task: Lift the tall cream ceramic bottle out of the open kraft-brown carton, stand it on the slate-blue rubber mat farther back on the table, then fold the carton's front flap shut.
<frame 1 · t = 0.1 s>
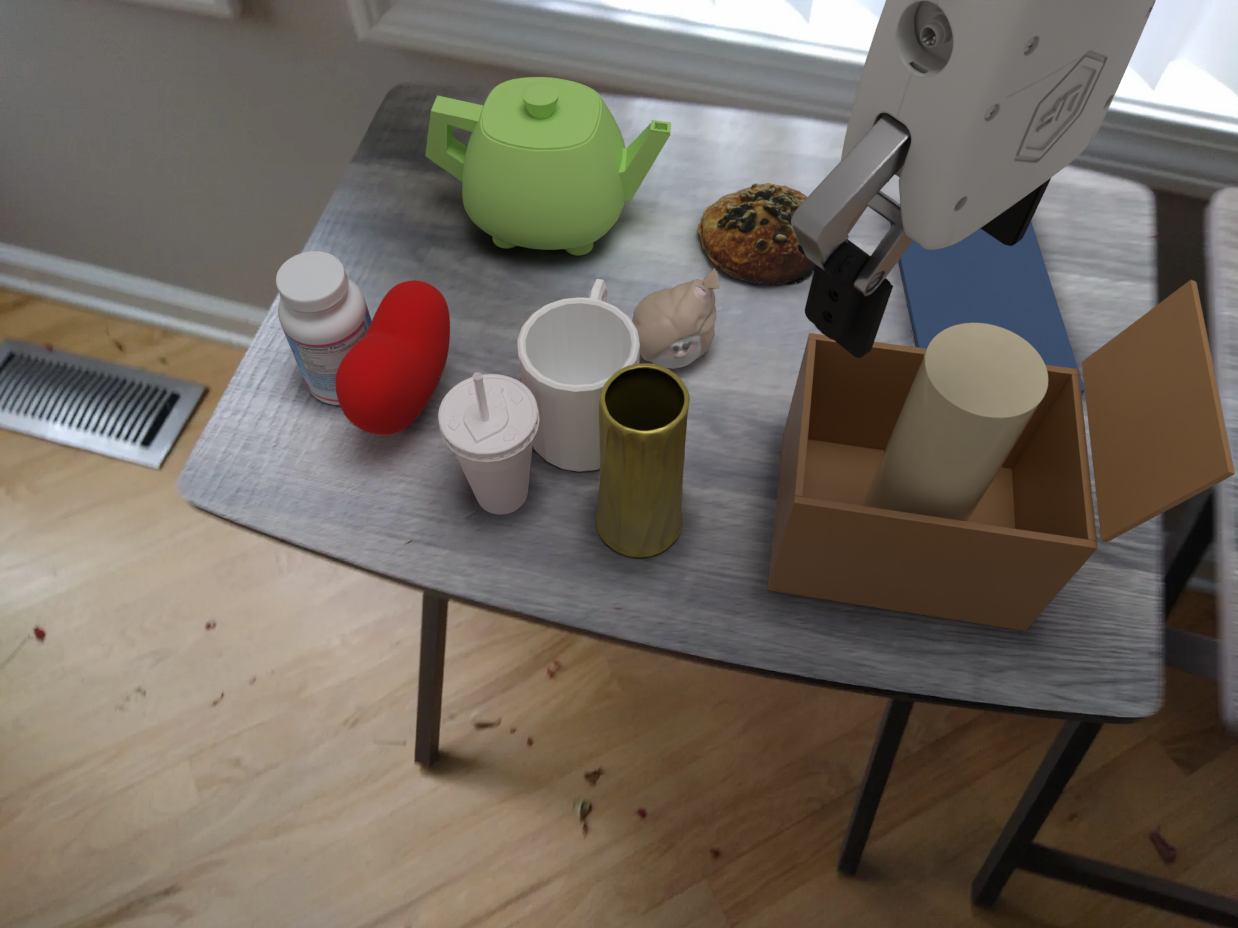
hand: (914, 278, 42), 29 cm above the table, tool pointing down, fingers open, 9 cm apart
bread roll: (761, 243, 84), on the table
vase: (638, 521, 69), on the table
cream bottle: (898, 541, 68), resting on carton
mug: (587, 407, 75), on the table
garlic bulb: (671, 352, 78), on the table
mat: (978, 297, 81), on the table
flap: (1148, 411, 54), point 16 cm above the table, hinge at 110.0°
pill bottle: (347, 379, 76), on the table
carton: (896, 526, 69), on the table
smoothie: (502, 493, 70), on the table
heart: (412, 414, 74), on the table
teapot: (550, 218, 86), on the table
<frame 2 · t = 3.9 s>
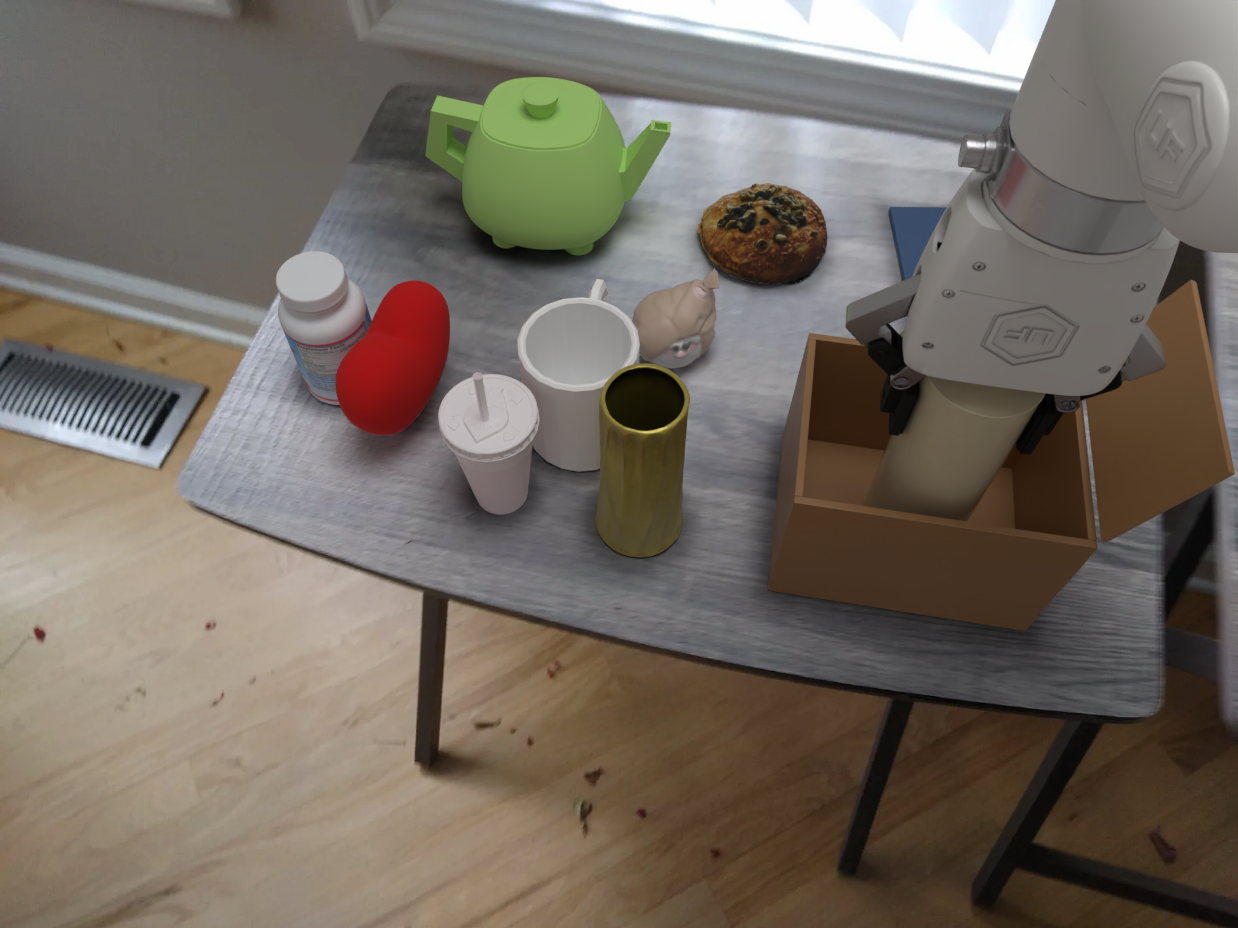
hand: (958, 422, 56), 15 cm above the table, tool pointing down, fingers closed on cream bottle, 6 cm apart
cream bottle: (898, 541, 68), point 1 cm above the table, touching carton, gripper
everything else where it was.
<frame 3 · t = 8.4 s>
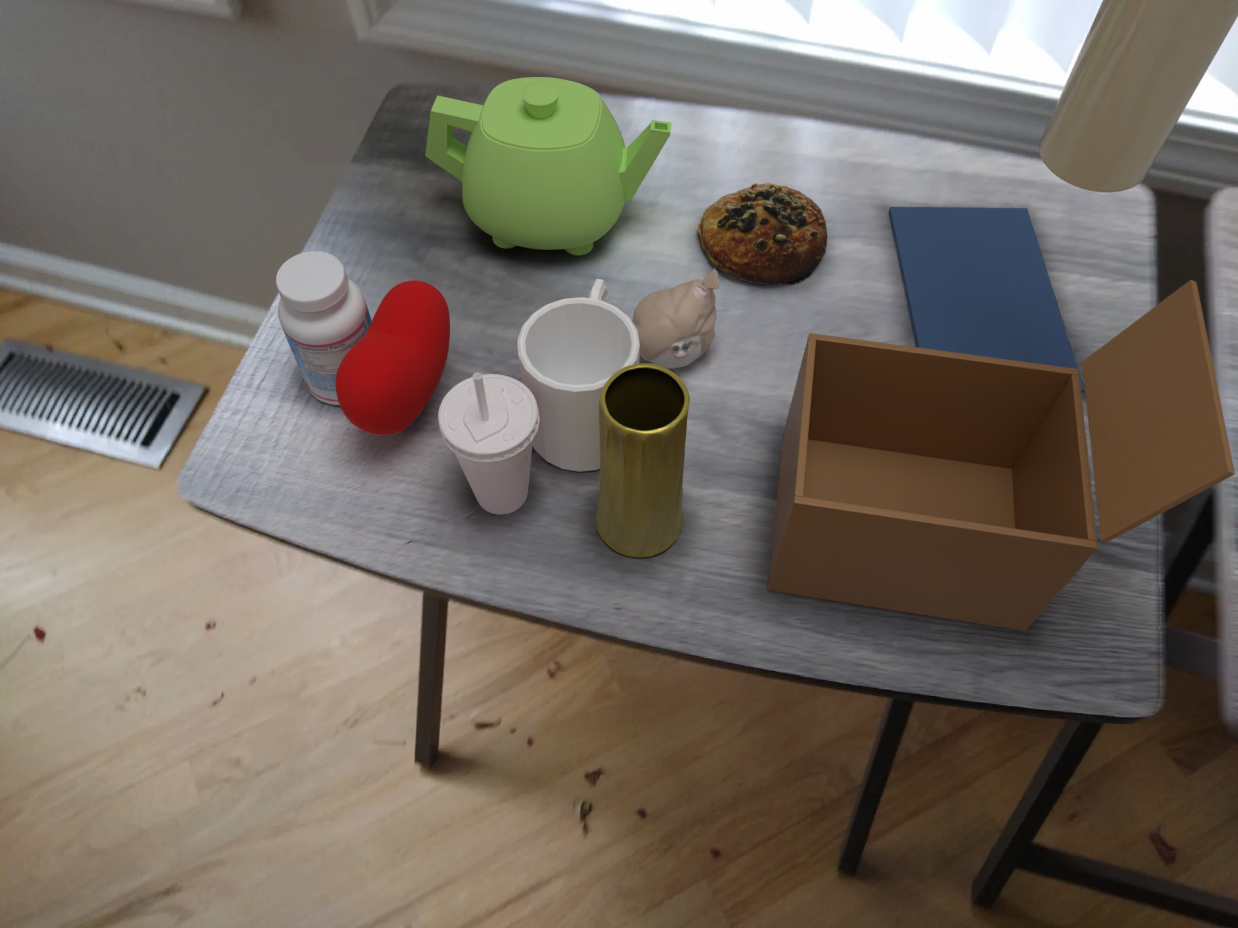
cream bottle: (1093, 156, 59), point 20 cm above the table, touching gripper
everything else where it was.
when the fingers open (15 cm above the table, at t = 13.2 s): cream bottle stays where it is, resting on mat.
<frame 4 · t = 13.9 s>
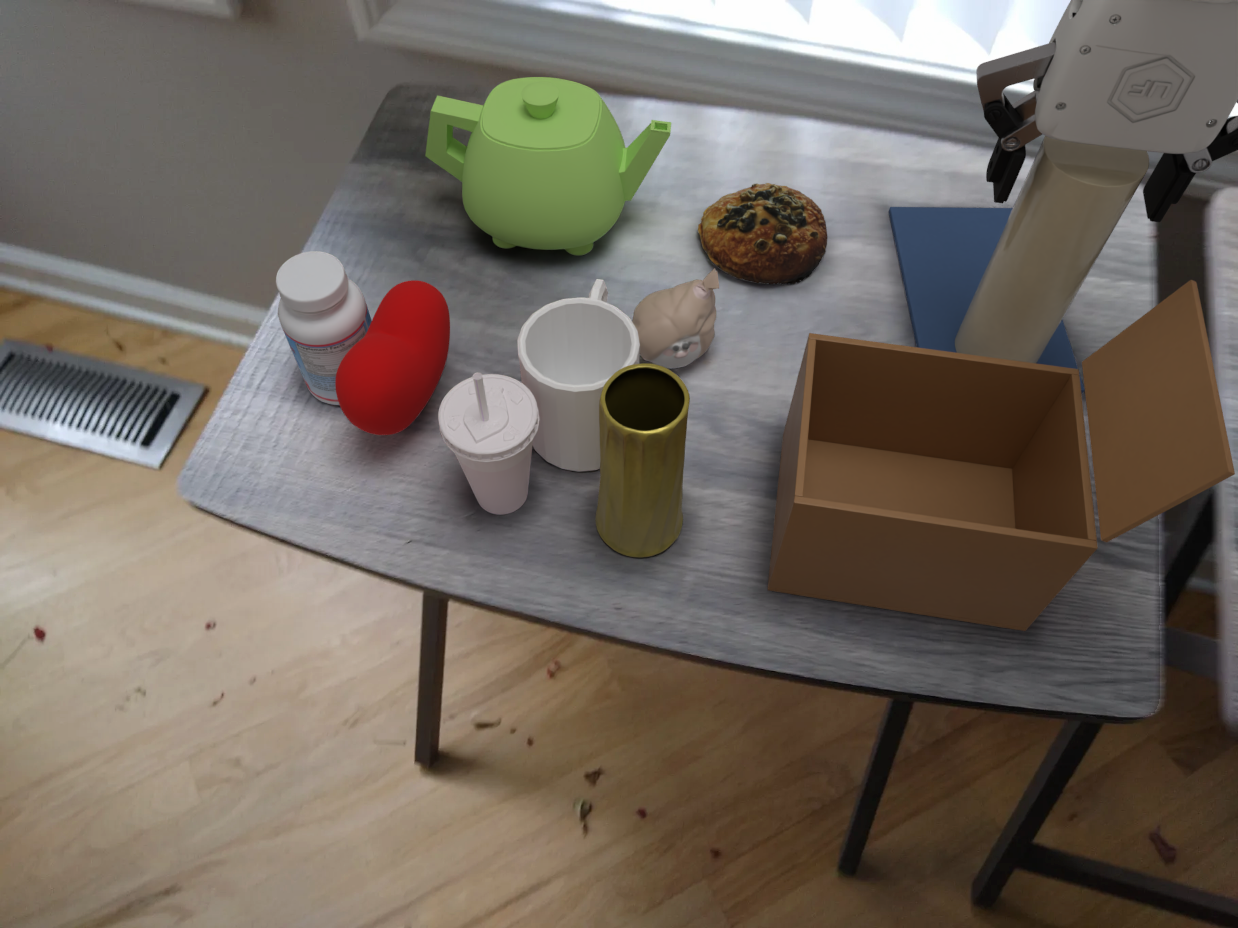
hand: (1073, 198, 64), 16 cm above the table, tool pointing down, fingers open, 9 cm apart
cream bottle: (995, 348, 77), point 1 cm above the table, touching mat
everything else where it was.
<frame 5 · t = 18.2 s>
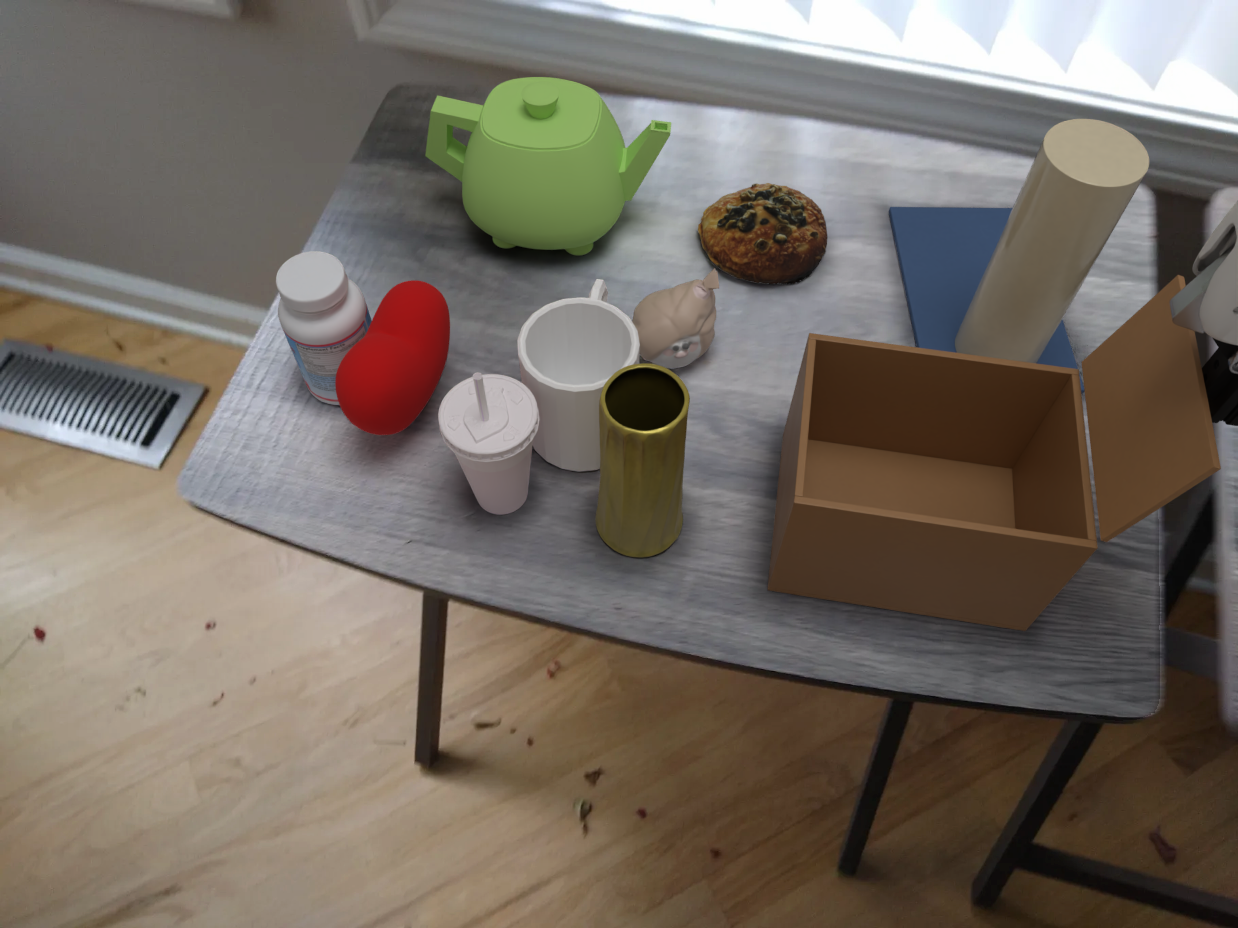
hand: (1216, 402, 53), 17 cm above the table, tool pointing down, fingers closed
flap: (1142, 408, 54), point 16 cm above the table, hinge at 104.3°, touching gripper
everything else where it was.
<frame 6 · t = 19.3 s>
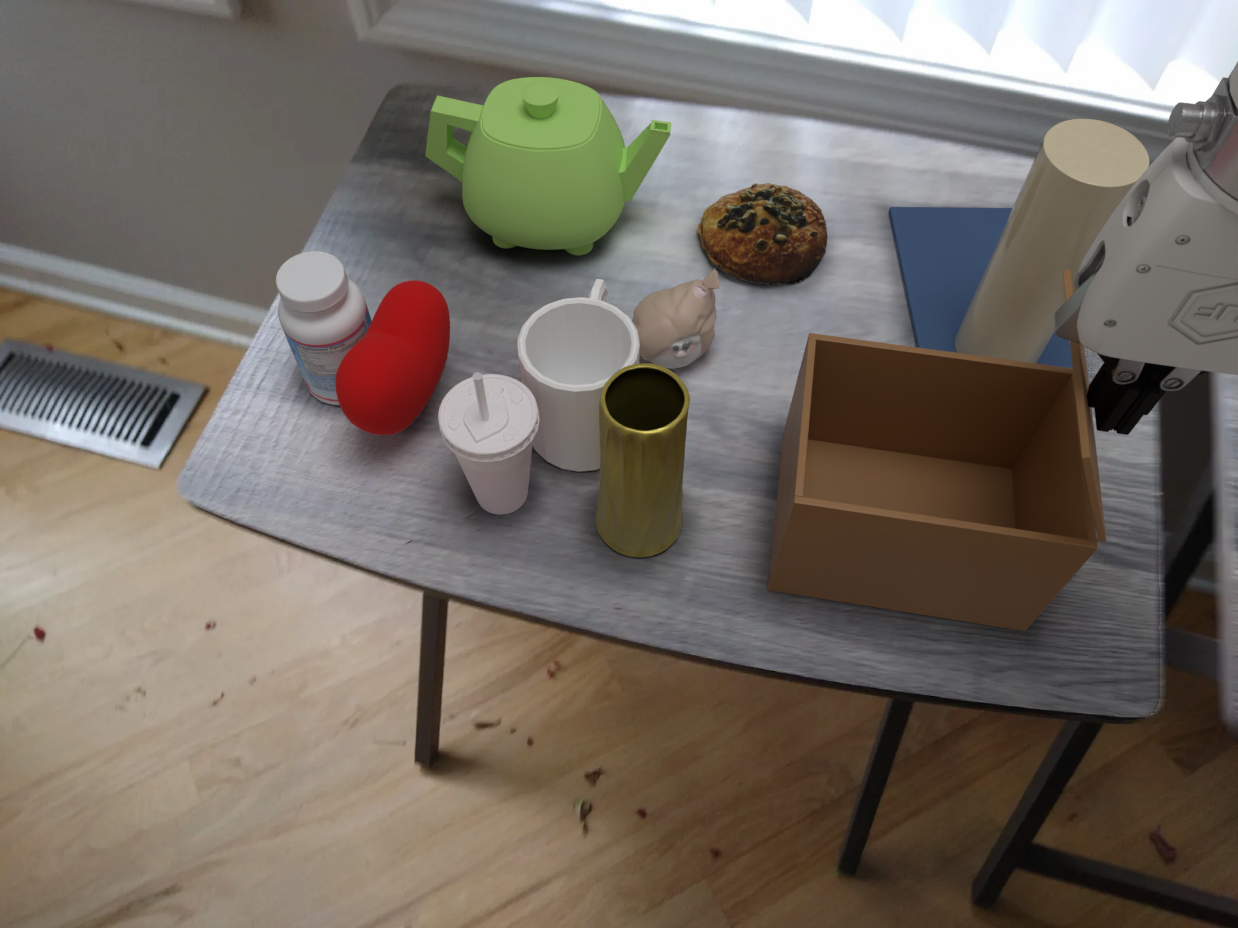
hand: (1109, 412, 55), 16 cm above the table, tool pointing down, fingers closed
flap: (1084, 404, 55), point 16 cm above the table, hinge at 62.7°
everything else where it was.
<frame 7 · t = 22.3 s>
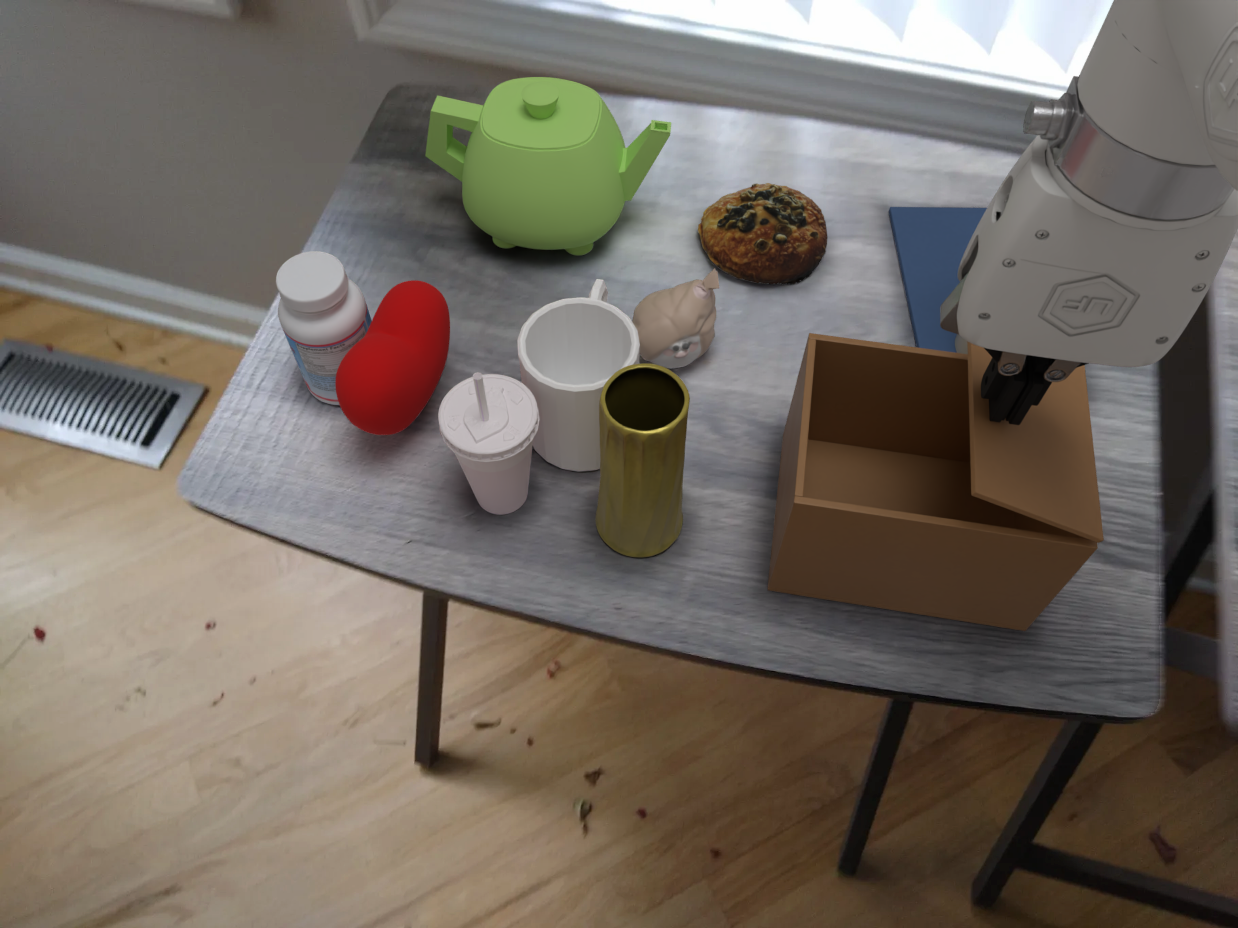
hand: (1002, 403, 56), 15 cm above the table, tool pointing down, fingers closed
flap: (1031, 423, 57), point 14 cm above the table, hinge at 19.9°, touching gripper
everything else where it was.
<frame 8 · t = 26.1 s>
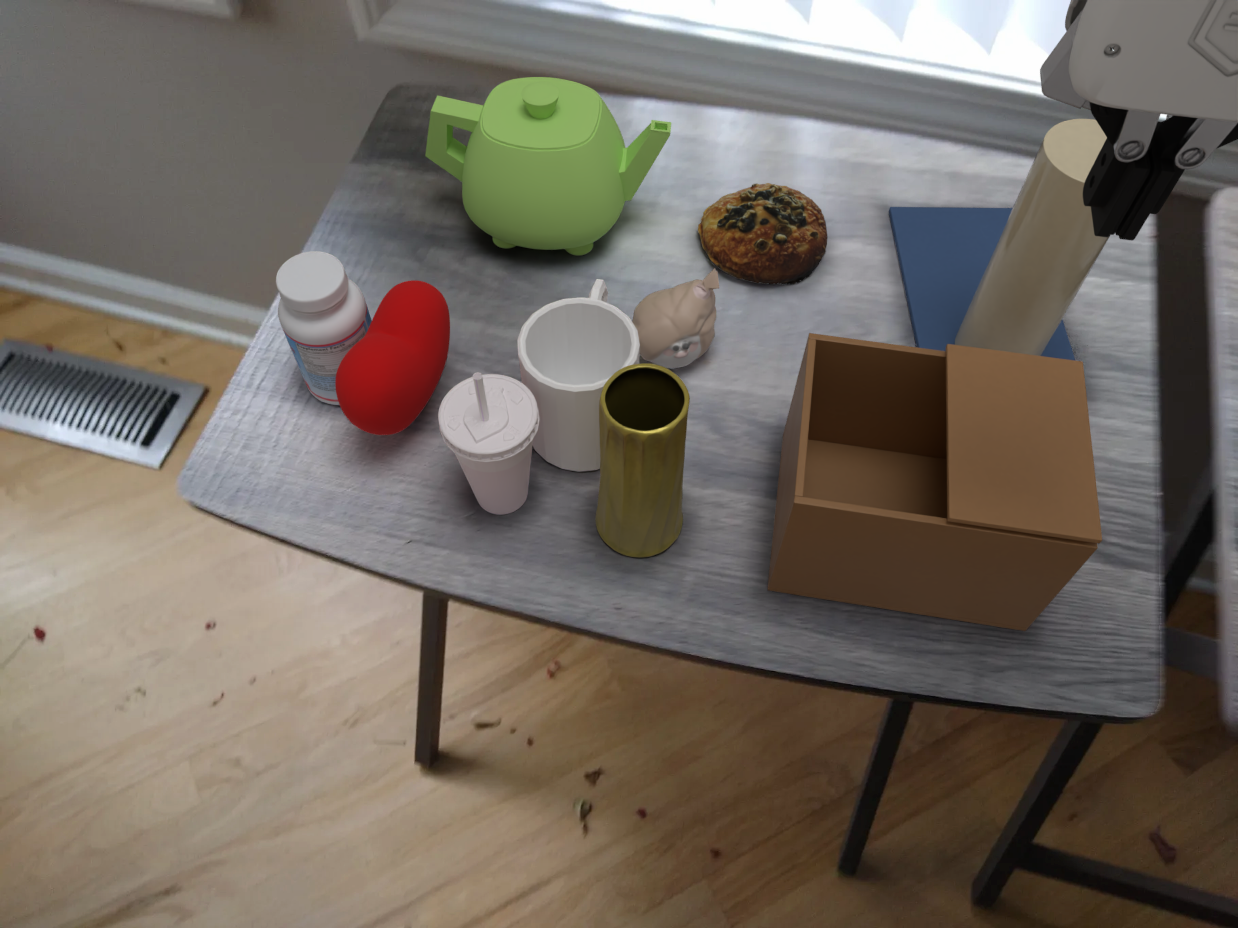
hand: (1110, 216, 44), 29 cm above the table, tool pointing down, fingers closed
flap: (1018, 437, 58), point 12 cm above the table, hinge at -0.3°
everything else where it was.
at the end: cream bottle inside the target area on the mat (0.4 cm from its centre), point 0.6 cm above the mat's base; cream bottle tilted 0°; flap at +0° (first picture: +110°) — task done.
